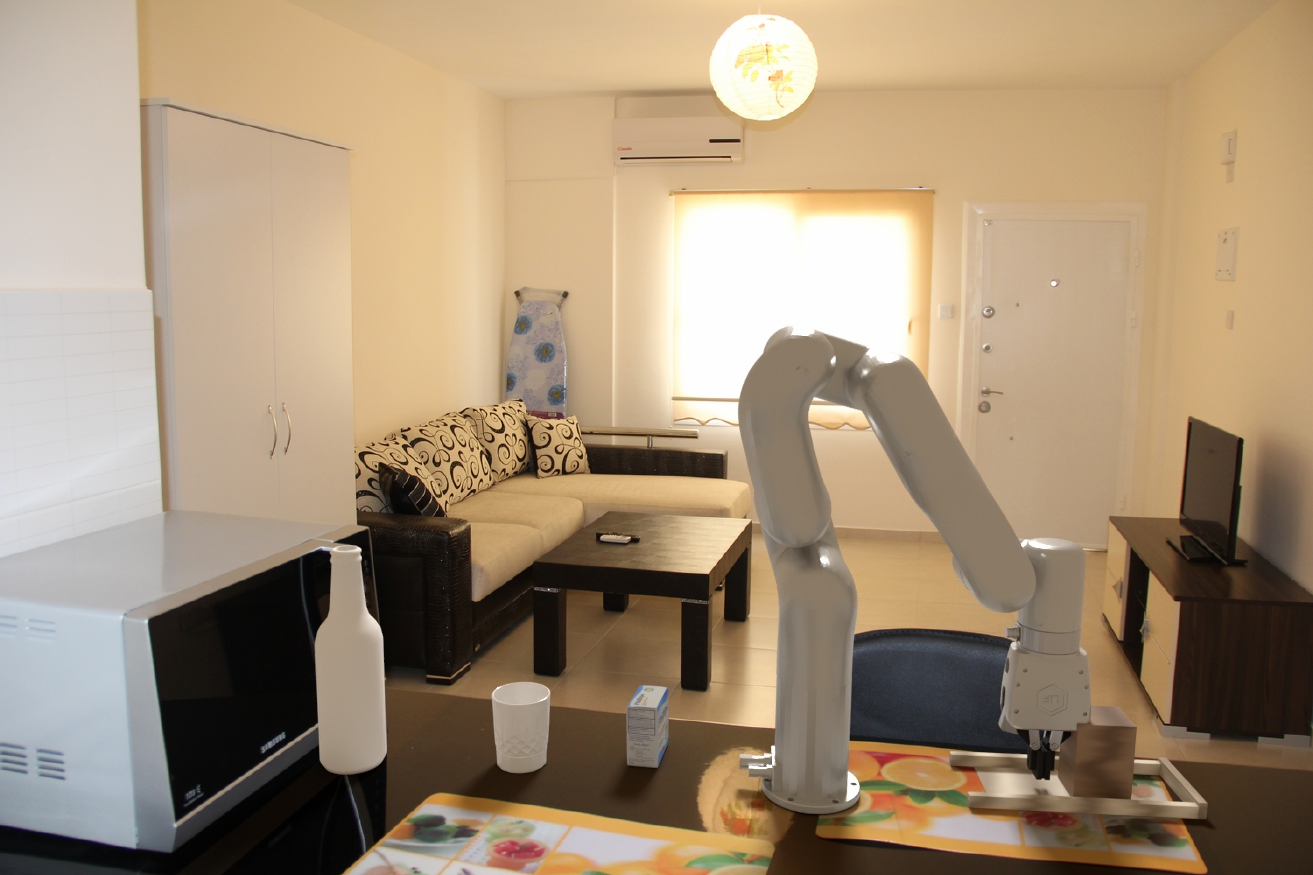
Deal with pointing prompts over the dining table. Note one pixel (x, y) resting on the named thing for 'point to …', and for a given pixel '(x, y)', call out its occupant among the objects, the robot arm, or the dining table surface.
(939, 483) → the robot arm
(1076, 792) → the walnut block
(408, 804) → the dining table surface
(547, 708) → the white cup
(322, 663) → the alcohol
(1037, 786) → the channel board
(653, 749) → the medicine box
